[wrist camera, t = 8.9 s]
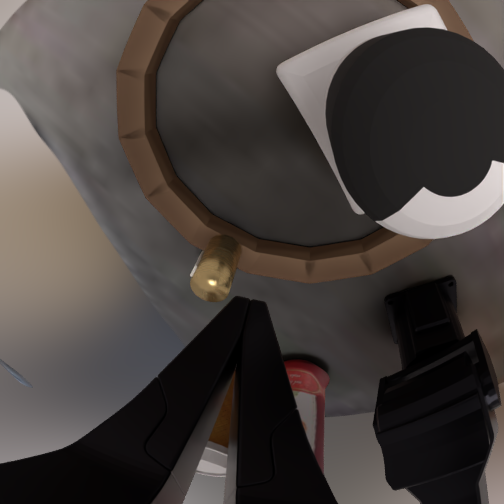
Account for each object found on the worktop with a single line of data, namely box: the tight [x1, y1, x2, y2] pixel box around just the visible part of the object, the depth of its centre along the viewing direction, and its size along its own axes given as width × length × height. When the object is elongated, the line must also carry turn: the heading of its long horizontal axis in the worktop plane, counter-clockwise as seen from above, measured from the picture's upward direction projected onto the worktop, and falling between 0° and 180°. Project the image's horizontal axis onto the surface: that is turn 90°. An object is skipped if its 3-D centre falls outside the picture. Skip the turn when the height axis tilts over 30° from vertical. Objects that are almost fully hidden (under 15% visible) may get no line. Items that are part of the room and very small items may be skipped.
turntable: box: [117, 0, 473, 302], centre depth 15 cm, size 23×23×6 cm
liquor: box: [284, 359, 330, 474], centre depth 21 cm, size 7×7×28 cm
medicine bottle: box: [276, 4, 504, 239], centre depth 11 cm, size 7×7×12 cm
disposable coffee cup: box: [195, 372, 235, 477], centre depth 31 cm, size 10×10×12 cm
